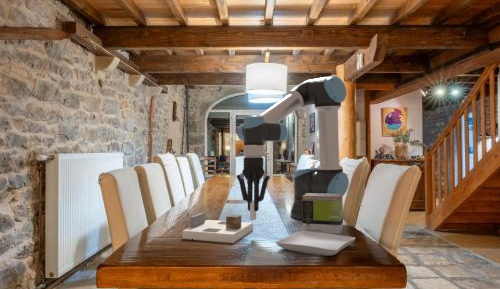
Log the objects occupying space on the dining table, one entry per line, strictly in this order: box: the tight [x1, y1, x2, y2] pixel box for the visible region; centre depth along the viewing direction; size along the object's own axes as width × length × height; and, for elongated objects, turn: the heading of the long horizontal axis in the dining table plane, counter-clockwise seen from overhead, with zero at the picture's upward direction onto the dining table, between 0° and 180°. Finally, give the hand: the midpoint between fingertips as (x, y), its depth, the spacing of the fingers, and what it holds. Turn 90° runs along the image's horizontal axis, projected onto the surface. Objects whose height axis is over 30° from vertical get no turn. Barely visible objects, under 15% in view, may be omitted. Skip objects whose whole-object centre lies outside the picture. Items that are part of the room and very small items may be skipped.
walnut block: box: [225, 214, 242, 229], centre depth 156 cm, size 4×4×4 cm
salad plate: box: [275, 230, 356, 257], centre depth 138 cm, size 21×21×3 cm
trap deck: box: [182, 212, 254, 244], centre depth 158 cm, size 20×22×7 cm
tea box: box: [301, 193, 344, 235], centre depth 164 cm, size 15×10×15 cm
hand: (253, 219), depth 153 cm, fingers closed
